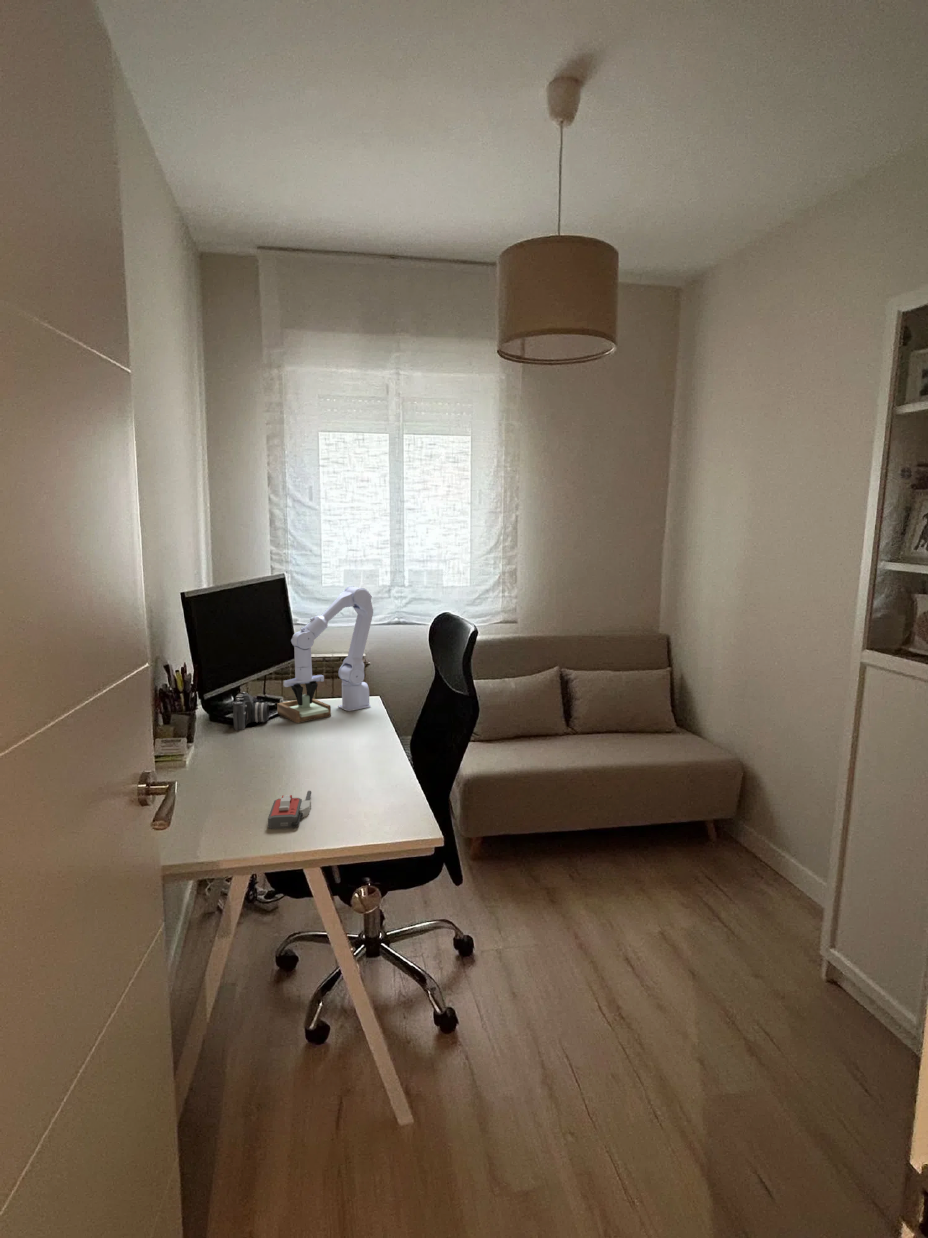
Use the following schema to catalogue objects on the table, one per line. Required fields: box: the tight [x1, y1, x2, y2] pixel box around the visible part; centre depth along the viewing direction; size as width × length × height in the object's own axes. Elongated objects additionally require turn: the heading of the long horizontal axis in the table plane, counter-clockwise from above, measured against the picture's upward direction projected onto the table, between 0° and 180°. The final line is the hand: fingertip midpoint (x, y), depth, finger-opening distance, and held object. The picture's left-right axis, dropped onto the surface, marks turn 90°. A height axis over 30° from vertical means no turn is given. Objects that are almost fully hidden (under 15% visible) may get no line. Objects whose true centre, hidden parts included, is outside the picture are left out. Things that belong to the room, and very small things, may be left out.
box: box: [276, 698, 332, 724], centre depth 252 cm, size 13×15×4 cm
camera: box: [232, 691, 270, 731], centre depth 242 cm, size 14×11×10 cm
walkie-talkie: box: [267, 790, 312, 830], centre depth 169 cm, size 9×4×20 cm
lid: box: [291, 693, 329, 717], centre depth 250 cm, size 10×12×5 cm
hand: (304, 704), depth 251 cm, fingers closed on lid, 3 cm apart
